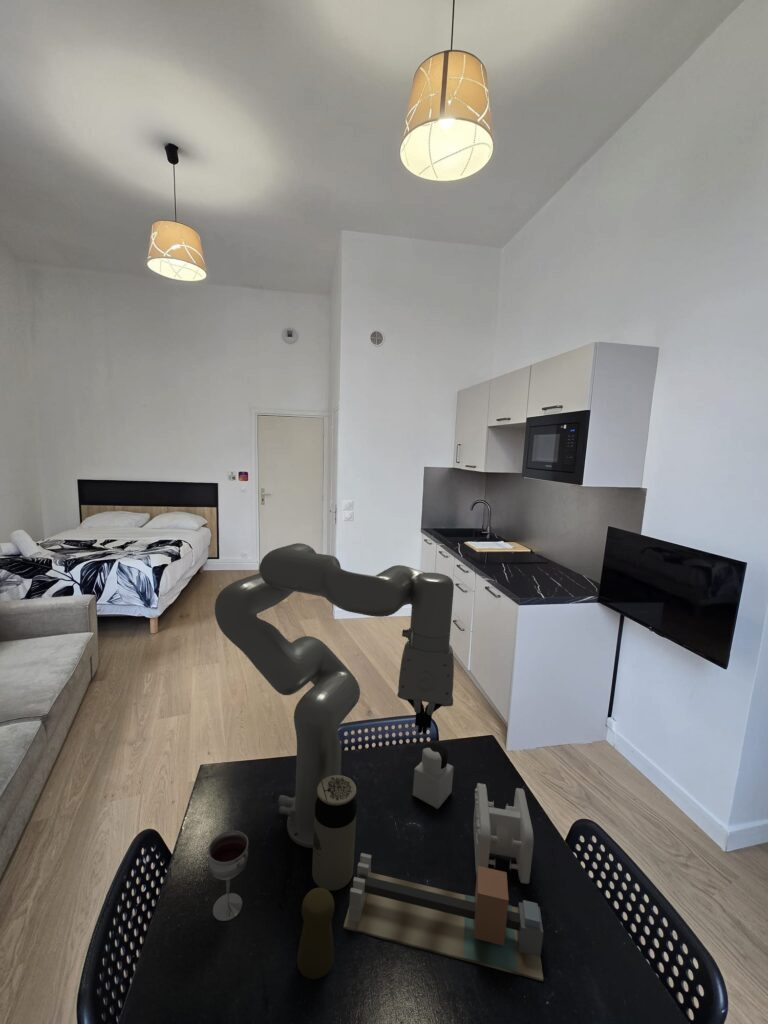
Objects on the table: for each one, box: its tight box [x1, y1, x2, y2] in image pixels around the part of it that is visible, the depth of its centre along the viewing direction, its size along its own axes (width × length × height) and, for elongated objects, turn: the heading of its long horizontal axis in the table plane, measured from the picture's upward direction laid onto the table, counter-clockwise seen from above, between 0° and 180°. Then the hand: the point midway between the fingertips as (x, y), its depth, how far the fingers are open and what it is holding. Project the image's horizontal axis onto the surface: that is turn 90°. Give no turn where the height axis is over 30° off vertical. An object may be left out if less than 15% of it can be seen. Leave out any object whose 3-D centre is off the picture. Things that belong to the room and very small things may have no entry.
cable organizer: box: [472, 782, 535, 885], centre depth 93 cm, size 15×11×12 cm
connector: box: [517, 899, 544, 957], centre depth 77 cm, size 4×4×6 cm
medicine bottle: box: [412, 742, 454, 810], centre depth 109 cm, size 7×7×12 cm
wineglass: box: [207, 830, 249, 922], centre depth 80 cm, size 7×7×12 cm
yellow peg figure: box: [296, 887, 335, 980], centre depth 72 cm, size 6×6×11 cm
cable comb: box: [348, 852, 372, 922], centre depth 83 cm, size 2×8×6 cm, turn 169°
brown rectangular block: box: [473, 866, 510, 946], centre depth 78 cm, size 5×5×9 cm
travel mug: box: [311, 774, 358, 891], centre depth 87 cm, size 8×8×18 cm
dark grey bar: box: [359, 875, 520, 931], centre depth 80 cm, size 30×2×2 cm, turn 79°
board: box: [343, 872, 544, 982], centre depth 80 cm, size 33×11×1 cm, turn 79°
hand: (422, 729), depth 87 cm, fingers closed
